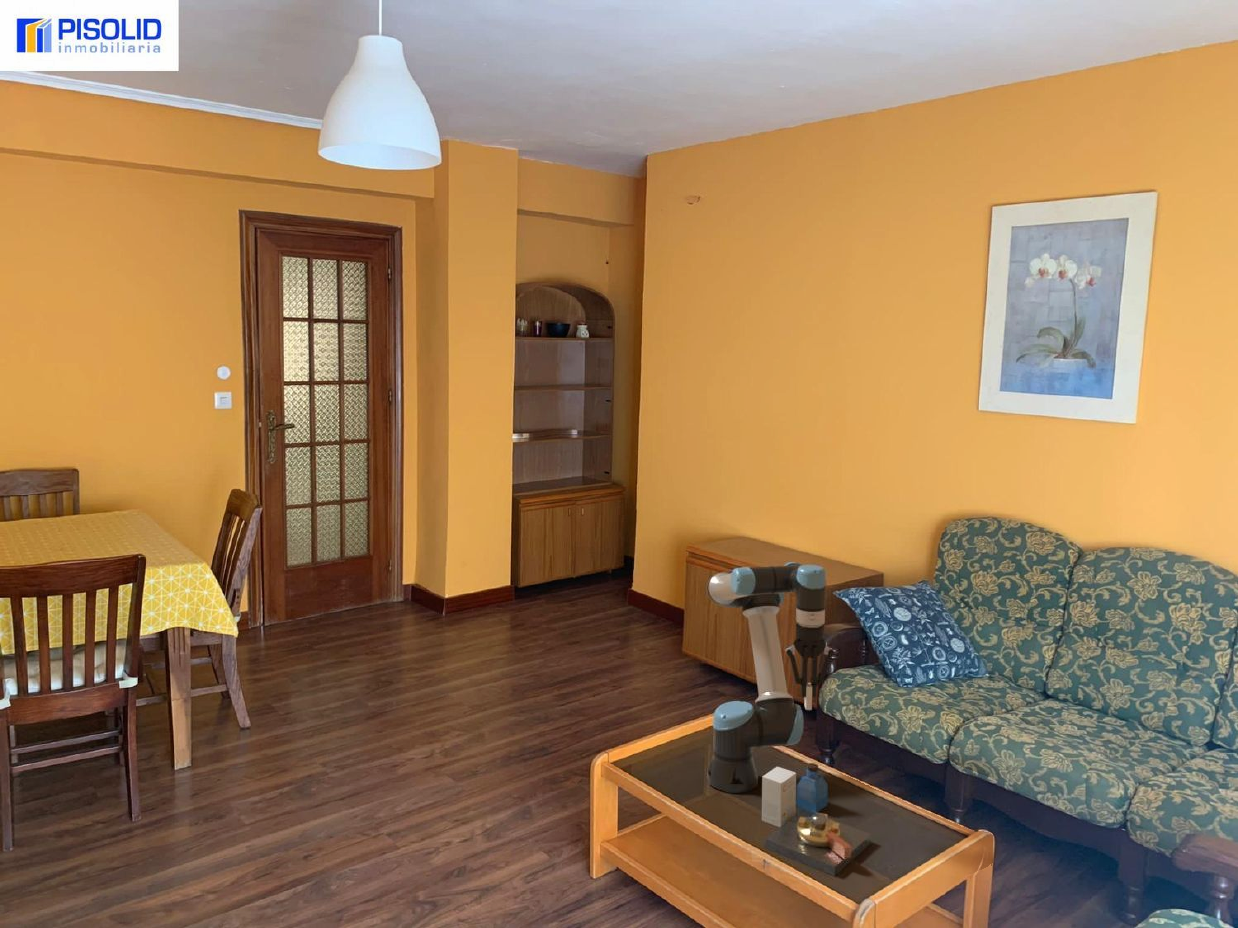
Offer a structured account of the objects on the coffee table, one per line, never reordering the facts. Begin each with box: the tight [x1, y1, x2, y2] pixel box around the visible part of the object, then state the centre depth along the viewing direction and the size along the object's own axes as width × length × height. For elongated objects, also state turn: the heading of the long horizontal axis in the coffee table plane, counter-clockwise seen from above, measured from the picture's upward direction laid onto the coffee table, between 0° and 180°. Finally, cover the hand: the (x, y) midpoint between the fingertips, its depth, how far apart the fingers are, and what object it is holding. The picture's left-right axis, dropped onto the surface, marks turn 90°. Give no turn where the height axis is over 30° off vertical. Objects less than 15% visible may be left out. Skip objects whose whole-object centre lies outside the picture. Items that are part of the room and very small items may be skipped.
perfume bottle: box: [796, 762, 829, 813], centre depth 263 cm, size 6×6×12 cm
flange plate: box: [764, 809, 872, 877], centre depth 243 cm, size 20×20×8 cm
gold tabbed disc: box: [797, 812, 851, 859], centre depth 240 cm, size 18×11×4 cm, turn 25°
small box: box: [761, 766, 797, 828], centre depth 256 cm, size 8×6×13 cm
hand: (808, 707), depth 252 cm, fingers closed
